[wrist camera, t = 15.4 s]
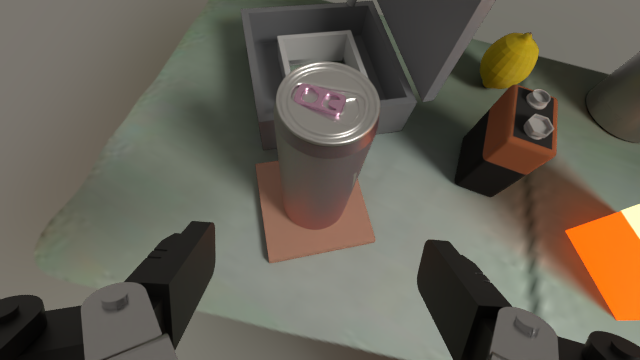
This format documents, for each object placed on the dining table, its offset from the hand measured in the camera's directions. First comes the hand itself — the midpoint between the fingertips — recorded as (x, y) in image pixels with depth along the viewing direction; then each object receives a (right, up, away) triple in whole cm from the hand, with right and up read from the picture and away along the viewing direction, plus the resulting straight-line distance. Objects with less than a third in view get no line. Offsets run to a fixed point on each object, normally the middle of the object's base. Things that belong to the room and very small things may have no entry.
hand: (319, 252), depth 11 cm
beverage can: (-1, 0, +18) cm, 18 cm away
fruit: (+22, +15, +28) cm, 39 cm away
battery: (+18, +4, +23) cm, 29 cm away
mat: (-1, 0, +19) cm, 19 cm away
